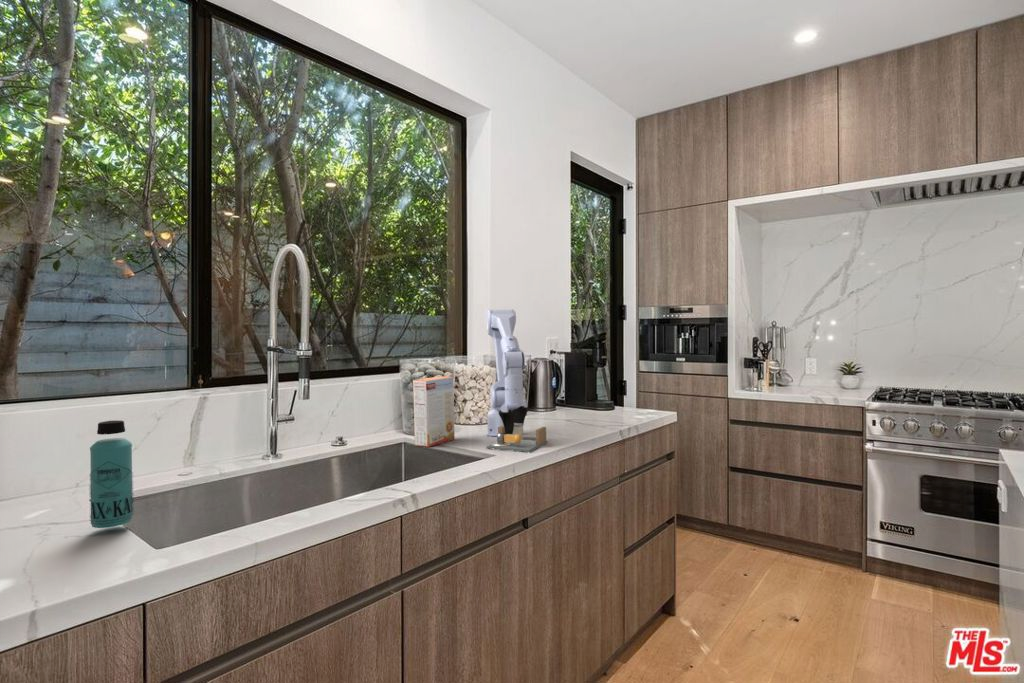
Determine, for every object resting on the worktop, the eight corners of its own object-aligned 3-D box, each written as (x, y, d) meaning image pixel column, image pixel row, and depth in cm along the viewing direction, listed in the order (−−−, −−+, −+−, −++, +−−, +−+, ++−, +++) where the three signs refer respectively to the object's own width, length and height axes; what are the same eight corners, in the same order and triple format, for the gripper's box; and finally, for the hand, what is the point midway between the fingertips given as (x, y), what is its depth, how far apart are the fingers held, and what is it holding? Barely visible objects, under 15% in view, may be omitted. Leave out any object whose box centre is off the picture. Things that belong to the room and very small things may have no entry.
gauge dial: (488, 445, 169) (487, 434, 169) (496, 442, 175) (496, 431, 175) (505, 447, 167) (505, 435, 167) (514, 443, 172) (513, 432, 172)
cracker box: (440, 438, 187) (440, 375, 186) (455, 439, 183) (454, 376, 183) (413, 445, 175) (412, 379, 174) (428, 447, 171) (427, 379, 171)
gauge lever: (503, 441, 169) (503, 433, 169) (507, 440, 171) (506, 432, 171) (518, 443, 166) (518, 435, 166) (522, 442, 167) (522, 434, 167)
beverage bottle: (87, 530, 101) (84, 421, 101) (130, 521, 106) (128, 417, 106) (93, 539, 97) (90, 425, 96) (138, 530, 101) (136, 420, 101)
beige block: (506, 440, 176) (506, 424, 176) (511, 438, 179) (511, 422, 179) (518, 441, 174) (518, 425, 174) (523, 439, 178) (523, 423, 177)
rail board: (486, 448, 169) (486, 431, 168) (507, 439, 182) (507, 423, 182) (529, 452, 163) (529, 434, 163) (547, 443, 176) (547, 426, 176)
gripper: (516, 392, 168) (516, 436, 169) (534, 387, 181) (534, 428, 182) (495, 391, 171) (495, 435, 171) (514, 386, 184) (514, 427, 185)
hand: (514, 431), depth 177 cm, fingers open, 7 cm apart
